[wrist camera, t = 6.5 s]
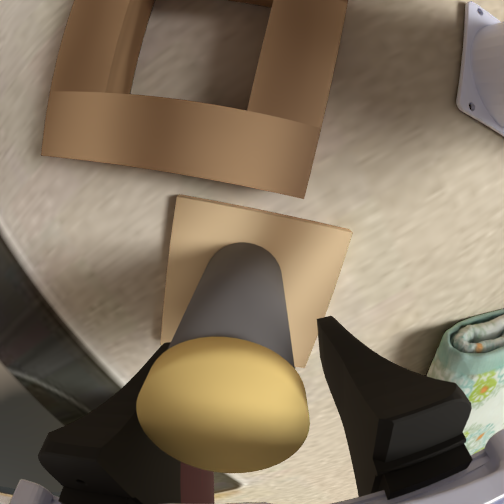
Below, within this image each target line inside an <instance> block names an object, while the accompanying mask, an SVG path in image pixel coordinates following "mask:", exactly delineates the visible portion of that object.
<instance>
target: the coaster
mask: <svg viewBox="0 0 504 504" xmlns="http://www.w3.org/2000/svg"><path fill="white" fill-rule="evenodd" d="M352 233H353V232H352V231H350V230H349V229H346V228H342V227H337V226H333V225H328V224H324V223H320V222H315V221H311V220H306V219H301V218H297V217H292V216H288V215H283V214H278V213H273V212H268V211H264V210H259V209H254V208H249V207H244V206H239V205H234V204H229V203H223V202H218V201H213V200H208V199H202V198H197V197H191V196H186V195H180V194H179V195H178V196H177V199H176V206H175V212H174V219H173V226H172V234H171V241H170V249H169V257H168V266H167V275H166V284H165V294H164V304H163V316H162V328H161V342H160V345H163V344H164V343H167V342H171V341H172V339H173V337H174V334H175V332H176V330H177V328H178V326H179V324H180V321H181V319H182V317H183V315H184V313H185V311H186V309H187V306H188V304H189V302H190V300H191V298H192V296H193V294H194V292H195V290H196V287H197V285H198V283H199V281H200V279H201V277H202V275H203V273H204V271H205V269H206V267H207V264H208V262H209V261H210V259H211V258H212V256H213V255H214V254H215V253H216V252H217V251H218V250H220V249H221V248H223V247H225V246H227V245H230V244H233V243H239V242H246V243H252V244H256V245H258V246H261V247H263V248H264V249H266V250H267V251H269V252H270V253H271V254H272V255H273V256H274V257H275V259H276V260H277V262H278V264H279V266H280V269H281V272H282V279H283V286H284V293H285V300H286V307H287V314H288V321H289V329H290V336H291V343H292V351H293V358H294V366H295V367H302V368H305V366H306V363H307V361H308V358H309V356H310V353H311V351H312V348H313V346H314V343H315V340H316V338H317V335H318V328H317V319H319V318H324V317H325V314H326V311H327V308H328V306H329V303H330V300H331V297H332V294H333V291H334V289H335V286H336V283H337V280H338V277H339V274H340V271H341V268H342V265H343V262H344V259H345V256H346V253H347V249H348V246H349V243H350V240H351V237H352Z"/></svg>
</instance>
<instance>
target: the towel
mask: <svg viewBox="0 0 504 504" xmlns="http://www.w3.org/2000/svg"><path fill="white" fill-rule="evenodd" d="M427 377H431V378H434V379H439V380H444V381H448V382H453V383H456V384H457V385H458V386H459V387H460V388H461V390H462V391H463V392H464V393H465V395H466V396H467V398H468V399H469V401H470V402H471V406H472V409H471V413H470V416H469V419H468V421H467V423H466V425H465V428H464V430H463V434H464V436H465V437H466V443H464V444H465V446H466V448H467V450H468V452H469V453H470V455H473V454H475V453H477V452H479V451H481V450H482V449H484V448H485V446H486V443H487V442H488V440H489V439H490V438H491V437H492V436H493V435H494V434H495V433H497V432H498V431H500V430H502V429H504V308H503V309H500V310H497V311H493V312H488V313H484V314H481V315H477V316H474V317H471V318H468V319H466V320H463V321H461V322H458V323H457V324H455V325H454V326H453V327H452V328H450V329H448V330H447V331H446V332H445V333H444V335H443V337H442V340H441V342H440V344H439V347H438V348H437V351H436V354H435V357H434V359H433V361H432V364H431V366H430V368H429V371H428V373H427Z"/></svg>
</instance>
